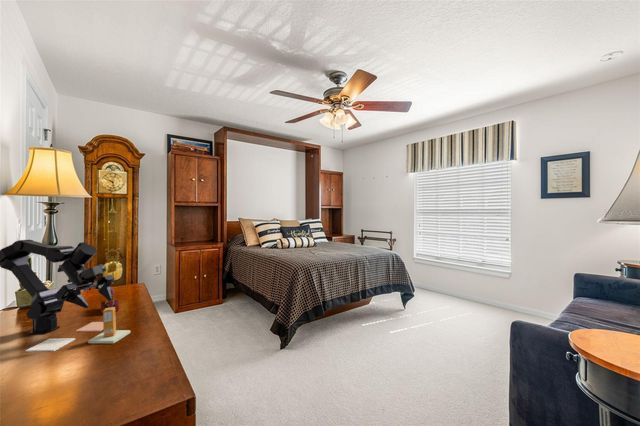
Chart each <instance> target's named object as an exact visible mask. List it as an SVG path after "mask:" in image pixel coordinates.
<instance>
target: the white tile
mask: <svg viewBox="0 0 640 426" xmlns="http://www.w3.org/2000/svg"><path fill="white" fill-rule="evenodd" d="M75 340H76V338H75V337H73V338H72V337H69V338H67V337H66V338H65V337H64V338H48V339H45V340H44V341H42V342H40V343H38V344H36V345H34V346H31V347H30V348H27V349H26V350H25V352H26V353H27V352H29V353H32V352H33V353H34V352H38V353H39V352H55V351H57V350H59V349H61V348H62V347H65V346H66V345H68V344H69V343H72V342H74V341H75Z"/></svg>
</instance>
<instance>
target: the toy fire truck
mask: <svg viewBox="0 0 640 426" xmlns="http://www.w3.org/2000/svg"><path fill="white" fill-rule="evenodd" d="M110 290H111V295H112V300H111V301H109V300H108V299H106V300H103V301H100V314H103V311H104V309H105V308H111V307H115V312H118V311H119V310H120V302H119V299H118V298H117V299H115V297H114V293H115V291H114V289H113V287H112V286H110Z"/></svg>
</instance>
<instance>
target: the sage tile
mask: <svg viewBox="0 0 640 426" xmlns="http://www.w3.org/2000/svg"><path fill="white" fill-rule="evenodd" d="M129 334H131V330H129V329H127V330H126V329H123V330H121V329H120V330H119V329H116V333H115V335H114V336H110V337H104V331H103V332H101V333H99V334H98V335H95V336H94V337H92V338H90V339H88V341H87V343H88V344H116V342H118V341H120V340H122V339H123V338H125V337H126V336H129Z"/></svg>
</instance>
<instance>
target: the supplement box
mask: <svg viewBox="0 0 640 426" xmlns="http://www.w3.org/2000/svg"><path fill="white" fill-rule="evenodd" d="M102 320H103V321H102V322H103V328H104V329H103V332H104V337H110V336H114V335H115V333H116V330H117V324H116V323H117V318H116V311H115V307H111V308H105V309H104V311H103V313H102Z"/></svg>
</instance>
